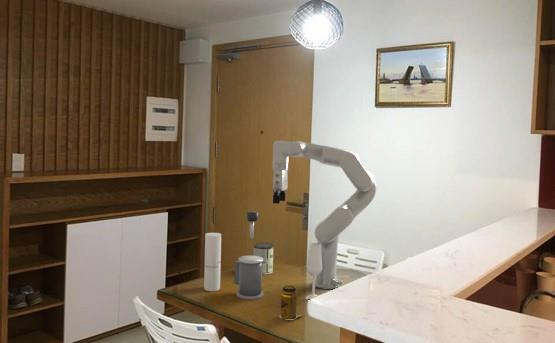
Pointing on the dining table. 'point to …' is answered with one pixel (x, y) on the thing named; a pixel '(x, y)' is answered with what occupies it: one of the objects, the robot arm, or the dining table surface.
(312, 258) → the champagne flute
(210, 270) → the cylindrical container
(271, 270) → the coffee can
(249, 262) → the press housing
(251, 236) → the plunger
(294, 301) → the condiment
